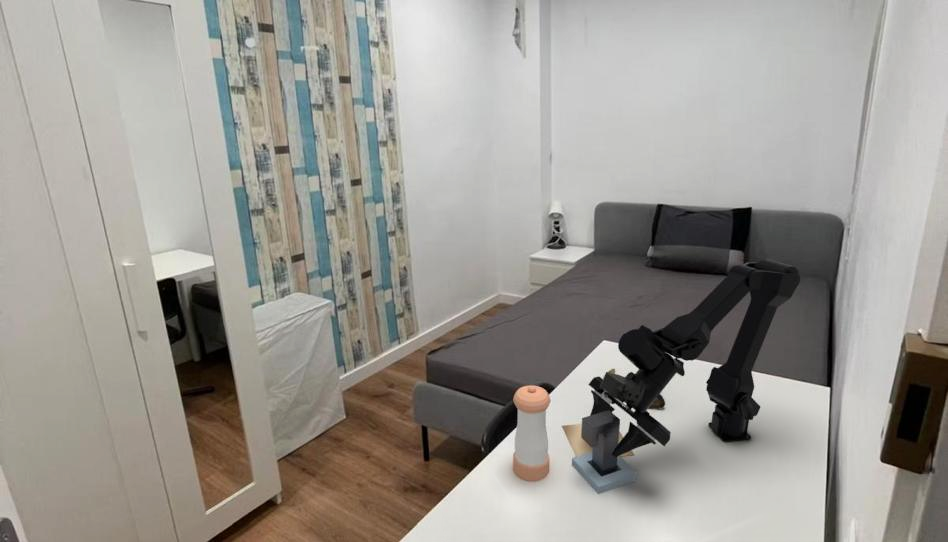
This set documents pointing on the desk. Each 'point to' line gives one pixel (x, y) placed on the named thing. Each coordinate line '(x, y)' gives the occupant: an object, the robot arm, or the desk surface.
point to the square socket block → (606, 482)
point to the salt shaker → (531, 434)
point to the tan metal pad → (578, 443)
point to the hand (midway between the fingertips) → (599, 443)
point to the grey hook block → (602, 440)
